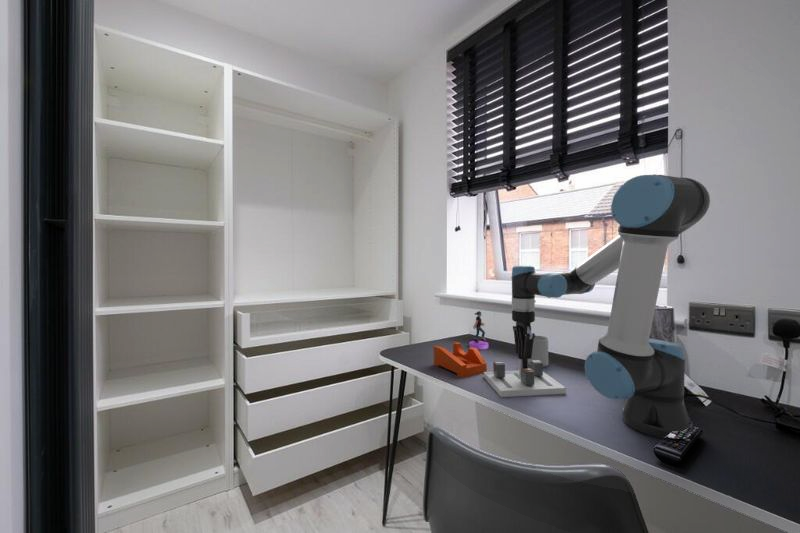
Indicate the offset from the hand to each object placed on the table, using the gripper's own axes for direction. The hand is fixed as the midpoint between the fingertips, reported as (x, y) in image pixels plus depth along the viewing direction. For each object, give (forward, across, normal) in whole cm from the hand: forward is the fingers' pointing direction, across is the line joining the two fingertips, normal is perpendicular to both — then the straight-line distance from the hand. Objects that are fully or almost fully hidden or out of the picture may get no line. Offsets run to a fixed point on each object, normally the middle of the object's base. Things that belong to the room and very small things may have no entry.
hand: (523, 376), depth 120 cm
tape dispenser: (+4, +21, +18) cm, 28 cm away
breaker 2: (+1, -3, 0) cm, 4 cm away
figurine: (+4, +51, +1) cm, 51 cm away
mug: (+4, +22, -14) cm, 27 cm away
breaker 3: (+1, +5, -7) cm, 8 cm away
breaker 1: (+1, +5, +7) cm, 9 cm away
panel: (+4, +1, 0) cm, 4 cm away
